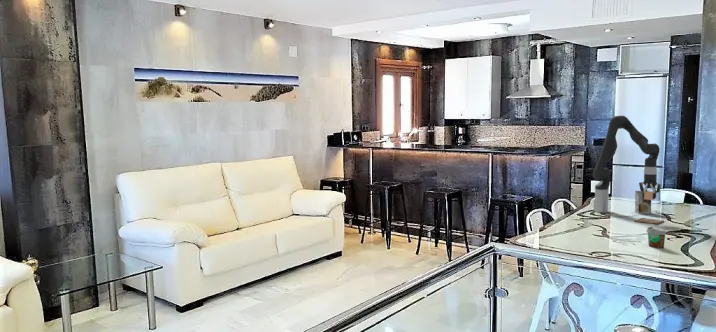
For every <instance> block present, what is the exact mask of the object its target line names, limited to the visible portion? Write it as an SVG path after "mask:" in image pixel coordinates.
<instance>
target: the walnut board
mask: <svg viewBox="0 0 716 332" xmlns="http://www.w3.org/2000/svg"><path fill="white" fill-rule="evenodd" d="M634 222H635V223H640V224H647V225H648V224H649V225H653V226H654V225H655V226H657V225H660V224H663V223H665V220H663V219H654V218H646V217H641V218H638V219H635V220H634Z"/></svg>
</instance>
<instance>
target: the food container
mask: <svg viewBox="0 0 716 332" xmlns="http://www.w3.org/2000/svg"><path fill="white" fill-rule="evenodd" d="M646 233H647V240H648V242H647V243H648V247H651V248H653V249H654V248H655V249H664V248H665V241H666V240H665V238H666V235H667V232H666V230H660V229H657V228H654V227H653V226H648V227H647V228H646Z"/></svg>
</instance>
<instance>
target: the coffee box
mask: <svg viewBox="0 0 716 332" xmlns="http://www.w3.org/2000/svg"><path fill="white" fill-rule="evenodd" d="M634 192H635V193H634V194H635V195H634V199H635V200H634V213H636V214H638V215H644V214H652V200H647V199H644V196H643V195H644V192H642V191H641V190H635V191H634Z"/></svg>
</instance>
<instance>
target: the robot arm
mask: <svg viewBox="0 0 716 332" xmlns="http://www.w3.org/2000/svg"><path fill="white" fill-rule="evenodd" d="M608 123H609V124H608V127H607V132H606V136H605V139H604V142H603V145H602V147H601V152H600V155H599V157H598V160H597V163H596V165H595V166H594V169H593V171H592V177H593V180H594V181H599V182H598V183H596V184H595V185H594V186H595V187H594V198H593V212H596V213H608V212H609V196H610V195H609V191H610V190H609V189H610V188H609V187H610V186H611V185H610V184H611V170H610V169H609V168H608V167H606V165H607V164H608V163H609V161H610V160H612V159H613V158H614V156H615V154H616V152H617V149H618V142H617V133H618V130H619V129H623V130H625V131H626V132H628V134H629V137H630V139H631V140H632V142H634V143H635V144H636V145H637V146H638V147H639V149H640V150H641V152H642V153H643V154H645V155H648V156H647V157H646V158H645V159H644V169H643V181H642V182H639V183H638V186H639V189H640V190H639V191H642V192H646V191H648V190H649V189H651V191H653V199H654V200H656V198H657V194H658V193H660V191H661V188H662V183H658V182H657V181H658V179H657V178H658V177H657V176H658V175H657V174H658V169H657V168H658V167H657V161H658V157H659V155H660V146H659V144H657V143H649V139H648V138H647V137H646V136H645V135H644V134H643V133H641V132H640V131H639V130H638V129H637V128H636V127H635V125H634V124H633V123H632V122H631V121H630V119H629V118H628V117H626V116H625V115H614V116H612V117H611V118H610V119H609V122H608ZM656 186H657V187H656ZM643 196H644V195H643Z"/></svg>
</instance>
